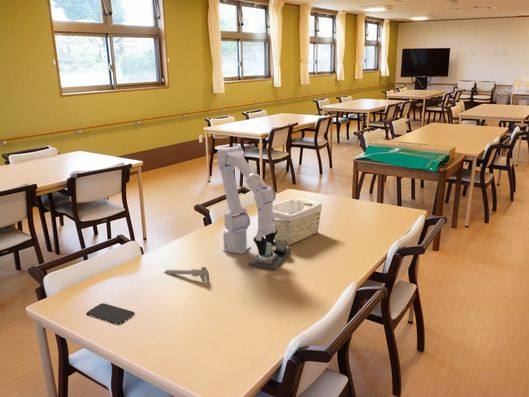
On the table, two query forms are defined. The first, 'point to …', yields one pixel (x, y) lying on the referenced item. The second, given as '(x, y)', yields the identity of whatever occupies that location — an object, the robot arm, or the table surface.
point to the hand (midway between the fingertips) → (265, 251)
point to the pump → (268, 249)
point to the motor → (272, 256)
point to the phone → (110, 313)
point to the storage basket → (296, 219)
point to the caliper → (192, 273)
